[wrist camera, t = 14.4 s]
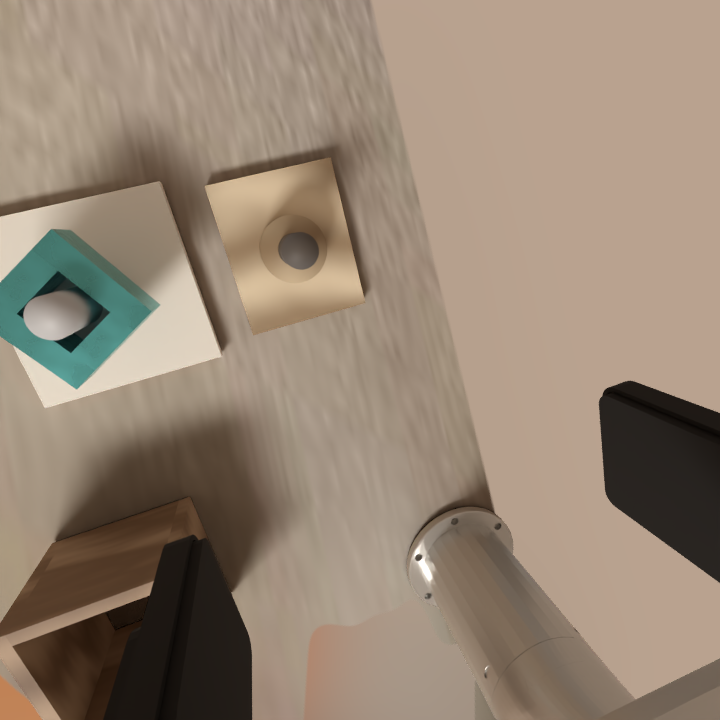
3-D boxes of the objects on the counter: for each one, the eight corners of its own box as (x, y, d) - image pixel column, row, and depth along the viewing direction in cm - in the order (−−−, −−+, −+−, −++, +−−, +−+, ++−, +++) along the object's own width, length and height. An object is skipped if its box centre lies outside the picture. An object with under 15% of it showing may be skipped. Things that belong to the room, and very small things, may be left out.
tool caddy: (232, 595, 44) (227, 691, 35) (108, 642, 42) (68, 757, 33) (189, 496, 40) (172, 574, 31) (52, 543, 38) (-12, 641, 29)
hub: (222, 353, 38) (213, 391, 28) (50, 403, 35) (-21, 462, 26) (161, 182, 33) (127, 160, 24) (-39, 227, 31) (-164, 222, 22)
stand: (362, 301, 39) (391, 317, 31) (253, 332, 38) (254, 357, 30) (328, 159, 36) (351, 136, 28) (205, 187, 34) (192, 171, 26)
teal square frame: (160, 304, 31) (151, 311, 28) (92, 375, 31) (76, 389, 28) (70, 229, 28) (51, 228, 26) (-4, 307, 29) (-31, 314, 26)
